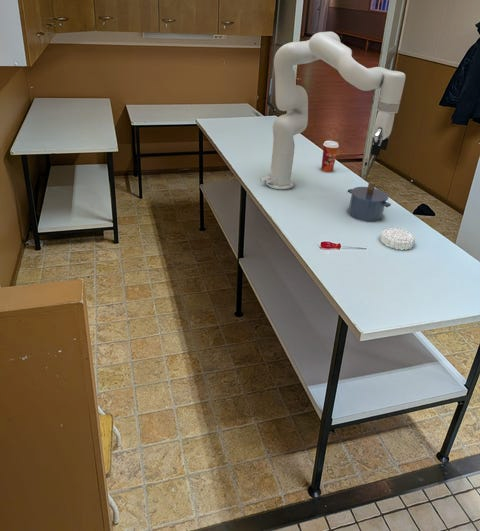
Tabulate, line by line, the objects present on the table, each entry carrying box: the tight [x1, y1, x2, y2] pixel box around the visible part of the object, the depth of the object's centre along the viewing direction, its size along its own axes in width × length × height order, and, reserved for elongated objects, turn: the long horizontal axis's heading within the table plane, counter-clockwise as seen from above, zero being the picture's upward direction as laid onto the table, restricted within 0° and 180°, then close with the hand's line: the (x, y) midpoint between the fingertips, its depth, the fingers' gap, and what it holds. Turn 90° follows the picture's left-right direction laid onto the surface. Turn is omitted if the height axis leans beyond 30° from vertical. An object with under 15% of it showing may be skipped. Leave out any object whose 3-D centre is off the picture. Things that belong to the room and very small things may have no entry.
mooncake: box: [379, 227, 416, 251], centre depth 184 cm, size 12×12×4 cm
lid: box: [350, 180, 389, 202], centre depth 200 cm, size 15×15×6 cm
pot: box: [347, 188, 392, 222], centre depth 203 cm, size 14×19×8 cm
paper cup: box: [321, 140, 340, 173], centre depth 245 cm, size 8×8×14 cm
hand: (378, 152), depth 192 cm, fingers open, 9 cm apart
